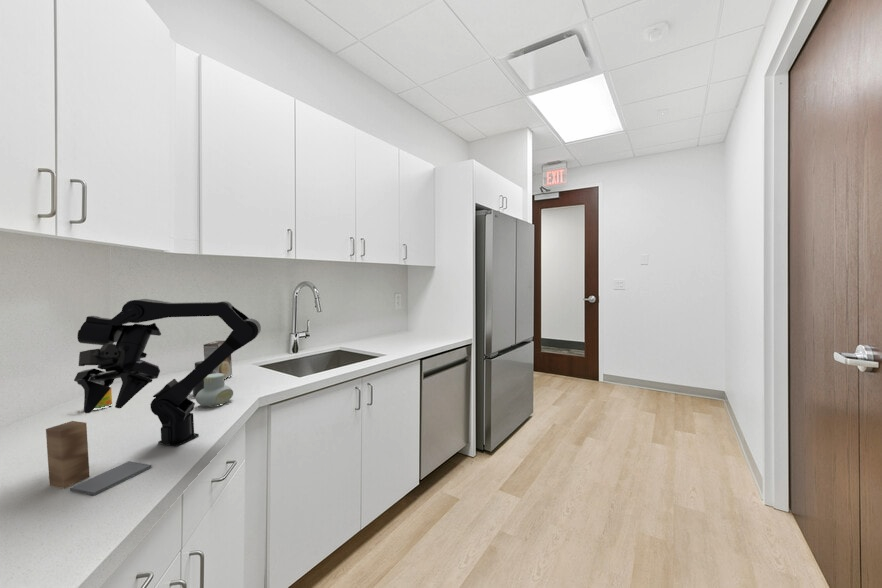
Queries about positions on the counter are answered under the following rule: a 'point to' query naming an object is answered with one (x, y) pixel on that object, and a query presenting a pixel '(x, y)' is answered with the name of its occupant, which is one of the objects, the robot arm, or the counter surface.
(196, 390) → the supplement bottle
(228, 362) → the coffee box
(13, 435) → the counter surface
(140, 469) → the rubber mat
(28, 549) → the counter surface
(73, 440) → the walnut block
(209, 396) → the air freshener
